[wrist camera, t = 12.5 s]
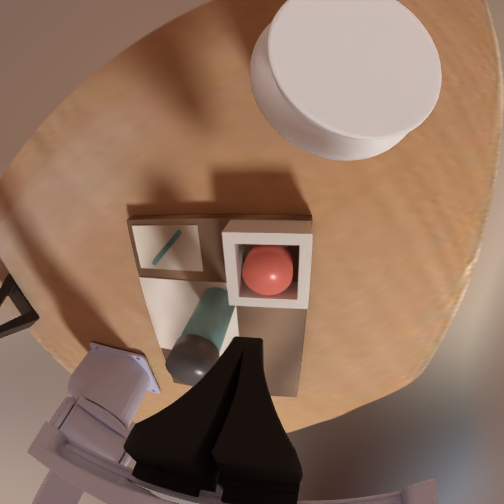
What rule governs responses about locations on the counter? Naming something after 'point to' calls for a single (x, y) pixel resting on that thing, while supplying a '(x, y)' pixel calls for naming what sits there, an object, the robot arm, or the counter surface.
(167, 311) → the drawing board
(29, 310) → the black spring clamp
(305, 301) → the button housing
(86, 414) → the robot arm
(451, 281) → the counter surface
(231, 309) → the marker
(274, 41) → the supplement bottle
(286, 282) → the button
